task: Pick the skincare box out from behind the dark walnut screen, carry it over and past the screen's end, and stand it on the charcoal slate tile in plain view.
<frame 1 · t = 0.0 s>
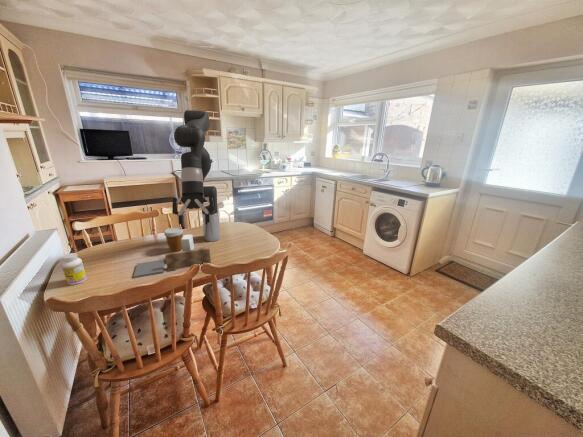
hand: (194, 225, 90), 31 cm above the table, tool tilted 20°, fingers open, 8 cm apart
supplement bottle: (77, 281, 108), on the table
skincare box: (189, 257, 130), on the table
disposable coffee cup: (176, 249, 138), on the table
slate tile: (150, 269, 118), on the table
walnut screen: (189, 265, 123), on the table
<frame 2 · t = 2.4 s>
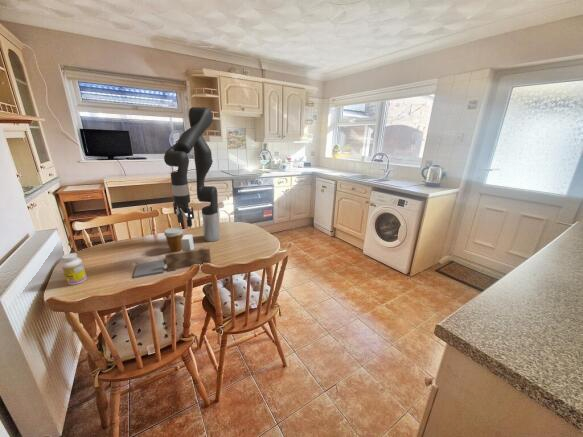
hand: (185, 224, 124), 19 cm above the table, tool pointing down, fingers open, 8 cm apart
nothing on the table moved.
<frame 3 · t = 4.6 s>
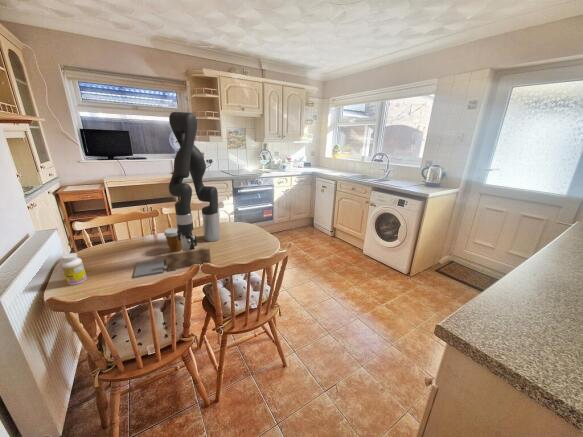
hand: (188, 250, 129), 4 cm above the table, tool pointing down, fingers closed on skincare box, 7 cm apart
skincare box: (189, 257, 130), on the table, touching gripper
everything else where it was.
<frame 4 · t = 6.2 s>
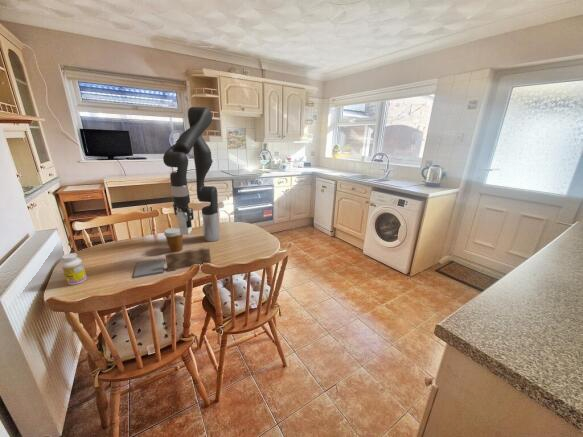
hand: (185, 225, 124), 18 cm above the table, tool pointing down, fingers closed on skincare box, 7 cm apart
skincare box: (186, 232, 126), point 14 cm above the table, touching gripper
everything else where it was.
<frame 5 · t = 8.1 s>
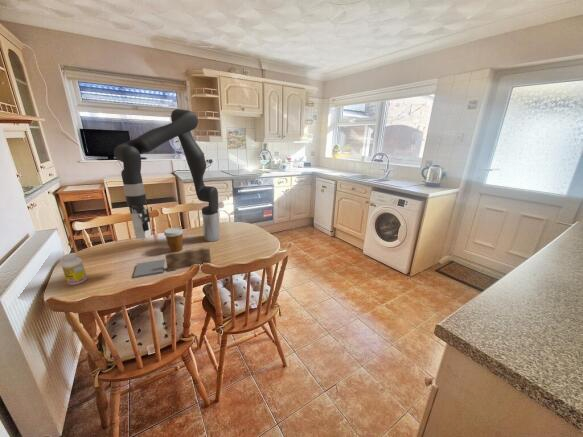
hand: (142, 228, 111), 21 cm above the table, tool pointing down, fingers closed on skincare box, 7 cm apart
skincare box: (143, 236, 112), point 17 cm above the table, touching gripper
everything else where it was.
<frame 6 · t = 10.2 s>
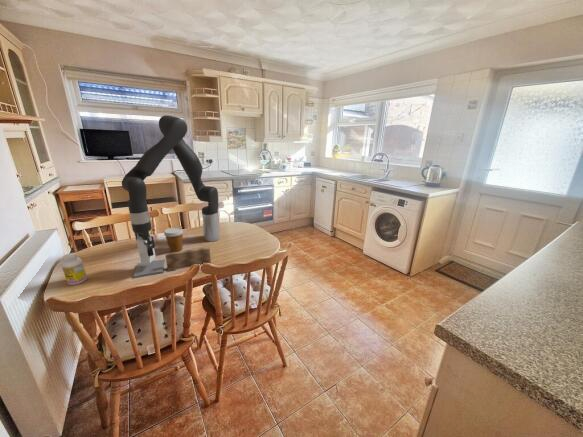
hand: (147, 253, 115), 9 cm above the table, tool pointing down, fingers closed on skincare box, 7 cm apart
skincare box: (148, 260, 117), point 5 cm above the table, touching gripper
everything else where it was.
when the fingers open (6 cm above the table, at t = 11.9 s): skincare box drops 1 cm, resting on slate tile.
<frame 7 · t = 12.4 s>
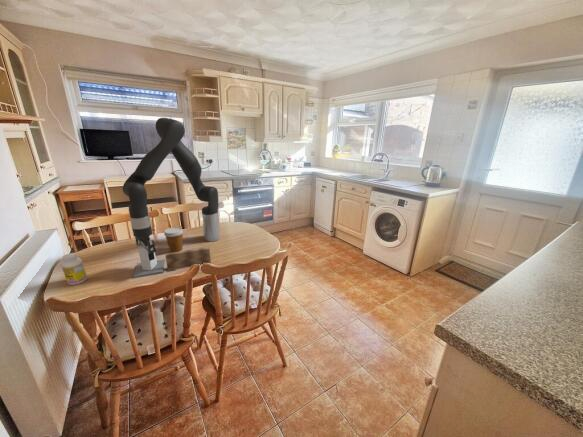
hand: (147, 256, 116), 7 cm above the table, tool pointing down, fingers open, 8 cm apart
skincare box: (150, 267, 118), point 1 cm above the table, touching slate tile
everything else where it was.
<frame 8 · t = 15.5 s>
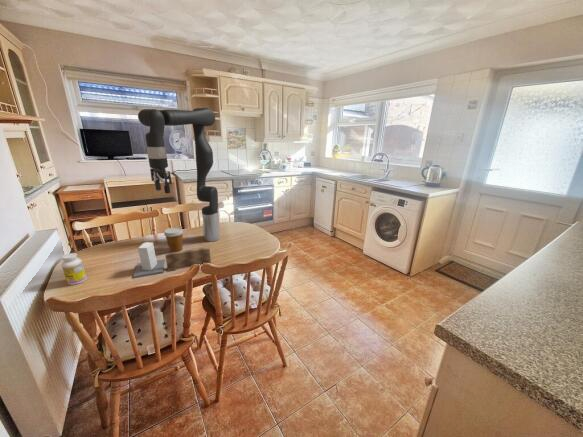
hand: (163, 191, 116), 36 cm above the table, tool pointing down, fingers open, 8 cm apart
nothing on the table moved.
at the end: skincare box inside the target area on the slate tile (0.1 cm from its centre), point 0.8 cm above the slate tile's base; skincare box tilted 0°; the gripper is holding nothing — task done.
